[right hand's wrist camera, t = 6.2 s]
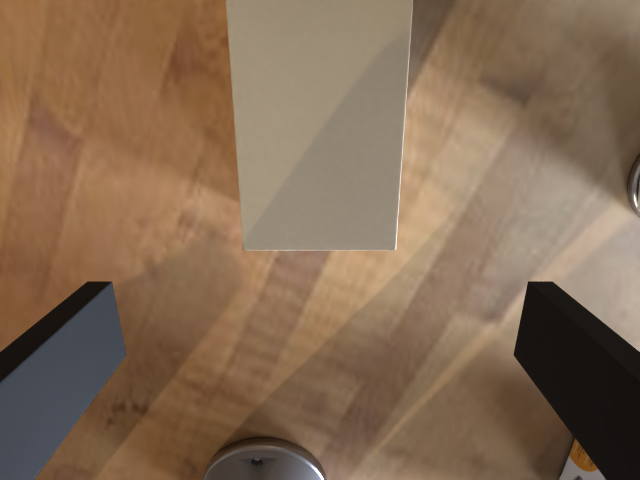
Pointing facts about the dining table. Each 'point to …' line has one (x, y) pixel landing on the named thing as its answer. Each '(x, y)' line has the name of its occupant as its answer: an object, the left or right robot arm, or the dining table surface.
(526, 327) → the right robot arm
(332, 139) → the cabinet
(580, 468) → the hard drive box
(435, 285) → the dining table surface
